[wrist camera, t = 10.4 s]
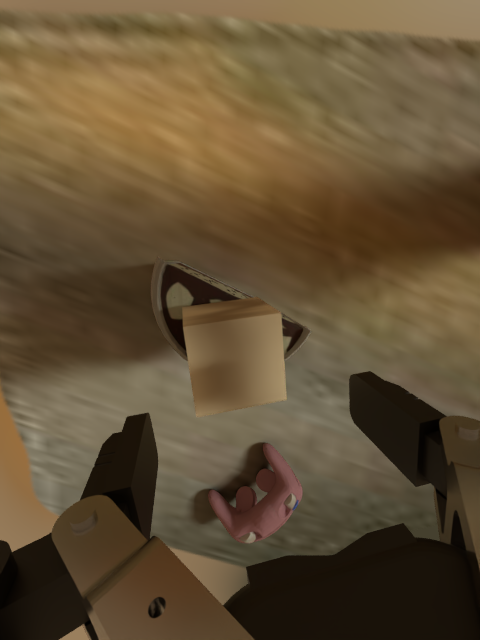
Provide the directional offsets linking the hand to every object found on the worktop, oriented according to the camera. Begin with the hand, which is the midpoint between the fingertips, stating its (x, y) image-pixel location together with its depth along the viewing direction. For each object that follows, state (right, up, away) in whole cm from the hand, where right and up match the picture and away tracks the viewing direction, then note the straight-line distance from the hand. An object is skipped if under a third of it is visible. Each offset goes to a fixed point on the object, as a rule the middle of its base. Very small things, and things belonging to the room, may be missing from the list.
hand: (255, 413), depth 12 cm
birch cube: (-2, +2, +9) cm, 9 cm away
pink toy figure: (+1, -15, +24) cm, 29 cm away
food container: (-4, +5, +18) cm, 19 cm away
